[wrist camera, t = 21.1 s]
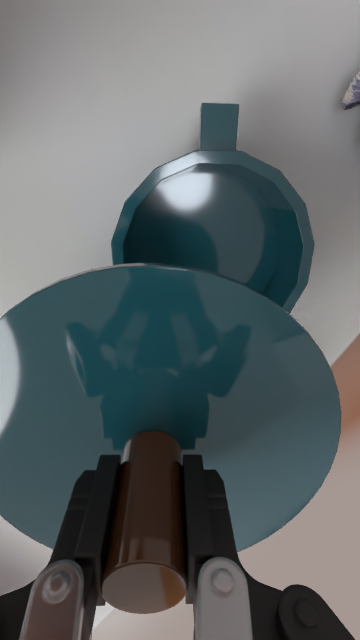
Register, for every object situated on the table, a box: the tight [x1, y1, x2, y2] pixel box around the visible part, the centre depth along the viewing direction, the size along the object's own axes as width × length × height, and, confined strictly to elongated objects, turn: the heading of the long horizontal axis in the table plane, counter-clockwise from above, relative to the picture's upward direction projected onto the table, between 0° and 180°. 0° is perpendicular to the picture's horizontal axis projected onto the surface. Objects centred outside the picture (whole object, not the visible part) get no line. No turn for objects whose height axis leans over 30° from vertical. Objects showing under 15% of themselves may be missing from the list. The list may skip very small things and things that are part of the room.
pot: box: [111, 103, 314, 314], centre depth 25 cm, size 15×20×5 cm
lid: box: [0, 263, 341, 614], centre depth 11 cm, size 16×16×6 cm
